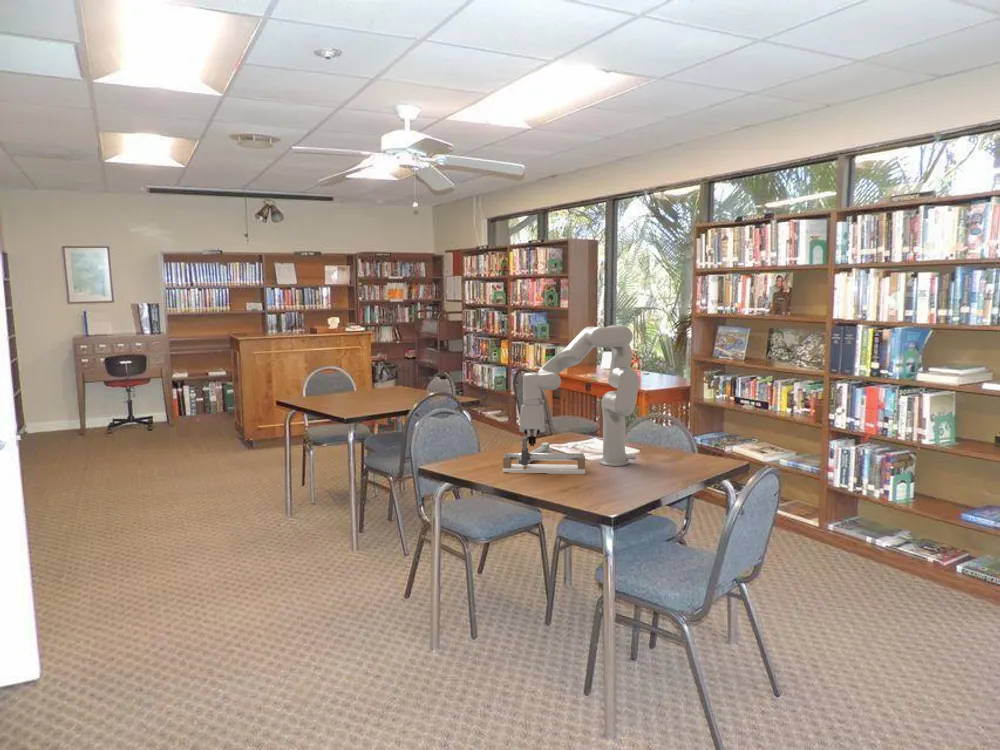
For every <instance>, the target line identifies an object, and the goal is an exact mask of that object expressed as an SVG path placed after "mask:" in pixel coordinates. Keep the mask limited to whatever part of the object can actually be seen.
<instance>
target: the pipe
mask: <svg viewBox="0 0 1000 750" xmlns="http://www.w3.org/2000/svg"><path fill="white" fill-rule="evenodd" d="M504 455H505V457H511V461H519V460H522V455H521V452H504ZM584 456H585V454H584V453H583V452H582V453H581V452H580V453H579V452H577V453H575V452H574V453H571V452H569V453H567V452H566V453H564V452H561V453H560V452H559V453H558V452H557V453H556V452H554V453H553V452H551V453H530V452H528V453H527V460H532V461H560V462H561V461H565V462H566V461H567V462H569V461H577V462H578V458H584Z"/></svg>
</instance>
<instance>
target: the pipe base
mask: <svg viewBox="0 0 1000 750" xmlns="http://www.w3.org/2000/svg"><path fill="white" fill-rule="evenodd" d="M502 459H503V460H502V461H503V462H502V463H503V468H502V473H503V472H521V473H520V474H526V473H547V475H548V474H549V475H550V474H551V475H586V455H584V458H578V461H577V464H555V463H554V464H546V463H545V464H543V463H542V464H541V463H535V464H534V463H532V464H531V463H529V464H528V465H522V464H519V463H512V460H511V457H505V454H504V455H503V457H502Z"/></svg>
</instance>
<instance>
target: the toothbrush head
mask: <svg viewBox="0 0 1000 750" xmlns="http://www.w3.org/2000/svg"><path fill="white" fill-rule="evenodd" d="M529 453H552V448H551V447H550V443H549V442H542V443H541V445H540V446H539V447H537V448H535V449H533V450H532V451H530V452H529ZM532 461H533V460H528V464H531V462H532ZM518 464H522V460H518Z"/></svg>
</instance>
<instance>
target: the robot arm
mask: <svg viewBox="0 0 1000 750" xmlns="http://www.w3.org/2000/svg"><path fill="white" fill-rule="evenodd" d="M633 336H634V333H633V331H632V329H630V328H629V327H628V326H624V325H615V324H614V325H612V324H611V325H608V326H605V327H604V326H601V327H600V326H593V325H592V326H586V327H584V328H583V329H582V330H580V332H579V333H578V334H577V335H576V336H575V337H574V339H572V340H571V342H569V344H568V345H567V346H565V348H563V349H562V350H560V351H559V352H558V353H557V354H555V355H554V356H553V357H552V358H550V359H549V360H547V362H545V364H543V366H542V367H541V368H540V369H539V370H538V371H537V372H534V371H533V372H525V373H523V375H522V404H521V406H520V413H519V428H518V429H519V430H518V431H519V433H520V432H521V433H525V435H527V441H528V445H529V446H530V447H535V444H537V441H536V440H537V436H538V435H539V434H540V433H544V432H546V428H545V410H544V405H543V404H544V403H545V399H543V398H542V390H546V391H555V390H557V389H559V388H560V386H561V385H562V379H561V377H560V375H559V374H561V372H563V371H565V370H566V369H569V368H571V367H574V366H576V365H578V364H579V363H581V362H582V361H583V360H584V358H585V357H586V356H587V355H588V354H589V353H590V352H591V351H592V350H593V349H594V348H599V349H600V348H604V349H605V348H609V349H610V350H611V351H610V352H611V358H610V359H611V360H610V364H609V365H610V367H609V373H608V377H607V378H608V379H607V380H608V385H610V386H611V387H612V388H615V389H616V390H610V391H607V392H605V393H604V395H602V397H601V401H600V402H601V404H600V405H601V413H602V458H600V459H599V460H598V461H599V464H601V465H603V466H608V467H620V466H622V467H623V466H626V465H628V464H629V463H630V461H629V460H632V461H633V460H637V455H635V454H628V453H626V417H628V416H630V415H631V414H632V413H633V412H634V410H635V409H636V408H635V407H636V405H637V404H636V403H637V400H638V399H637V398H638V392H639V387H640V378H639V377H640V376H639V375H638V373H637V371H636V370H634V369H632V368H631V365H632V356H633V353H632V347H631V345H630V344H631V343H632V341H633V339H634V338H633ZM532 430H533V433H532V432H531V431H532Z"/></svg>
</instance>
